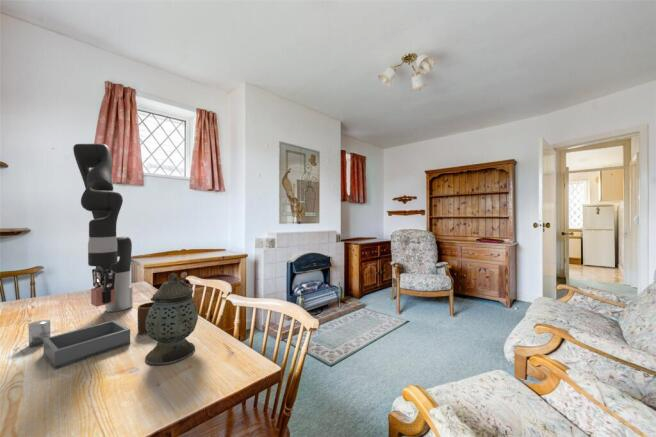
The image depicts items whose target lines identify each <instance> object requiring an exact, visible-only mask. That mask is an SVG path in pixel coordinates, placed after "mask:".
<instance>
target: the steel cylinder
mask: <svg viewBox="0 0 656 437" xmlns="http://www.w3.org/2000/svg"><path fill="white" fill-rule="evenodd" d="M27 328H28V347H29V348H35V347H41V346H43V339H45V338H48V337H51V320H50V319H42V320H37V321H33V322H31V323H29V324H28V327H27Z"/></svg>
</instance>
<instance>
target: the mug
mask: <svg viewBox="0 0 656 437" xmlns="http://www.w3.org/2000/svg"><path fill="white" fill-rule="evenodd" d="M154 303H155V302H153V301H151V302H150V301H149V302H146V303H143V304H142V303H141V304H139V305H138V307H137V332H138V333H139V334H142V335H143V334H148V333H147V331H146V329H145V320H146V318H147V315H148V312H149V309H150V308H151V307H152V306H153V304H154Z"/></svg>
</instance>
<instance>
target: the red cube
mask: <svg viewBox="0 0 656 437" xmlns="http://www.w3.org/2000/svg"><path fill="white" fill-rule="evenodd" d="M107 287H109V286H107ZM101 290H102V289H101V287H98V288H95V287H94V288H91V289H90V291H91V292H90V300H91V301H90V305H93V306H94V307H101V306H105V305H106V304H111V303H115V287H114V290H112V291H111V302H109V303H105V304H104V303H102V291H101Z"/></svg>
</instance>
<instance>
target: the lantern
mask: <svg viewBox="0 0 656 437" xmlns="http://www.w3.org/2000/svg"><path fill="white" fill-rule="evenodd" d="M167 280H168V281H166V282H165V281H164V282H163V283H162V284H161V285H160V287H159V288H158V290H156V292H155V293H154V294H152V297H150V301H151V302H155V303H154V304H153V306H152V307H151V308H150V309H149V312H148V315H147V318H146V320H145V329H146V331H147V333H146V334H147V336H148V337H149V338H150V339H152V340H153V341H156V342H157V343H156V345H155V346H154V347H153V349H151V351H149V352H148V353H147V354H146V355H145V358H144V362H145V363H146V365H149V366H152V367H153V366H154V367H155V366H156V367H161V366H162V367H163V366H169V365H173V364H176V363H179V362H182V361H184V360H186V359H188V358H189V357H191V356H192V355H193V354H194V352H195V351H196V346H195V344H194V343H193V342H191V341H189V340H187V339H186V338H188V337H189V336H190V335H191V334H192V333H193V332H194V331H195V329H196V325H197V322H198V320H199V316H198V314H199V312H198V311H199V310H198V307H197V305H196V302H195V299H194V297H193V293H194V289H193V288H190V287H189V284H188V283H186V282H185V281H184V280H182V279H181V280H180V279H179V277H178V274H177V273H174V272H173V273H170V274H169V275H168V277H167Z"/></svg>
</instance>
